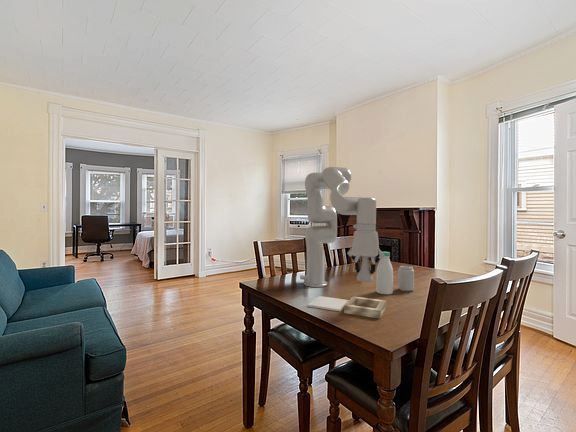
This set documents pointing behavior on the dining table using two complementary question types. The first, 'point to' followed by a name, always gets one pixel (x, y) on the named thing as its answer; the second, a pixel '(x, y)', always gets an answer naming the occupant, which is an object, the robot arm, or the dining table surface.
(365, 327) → the dining table surface
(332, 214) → the robot arm
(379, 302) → the holder
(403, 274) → the can
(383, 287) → the milk bottle
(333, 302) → the plate
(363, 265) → the flask
